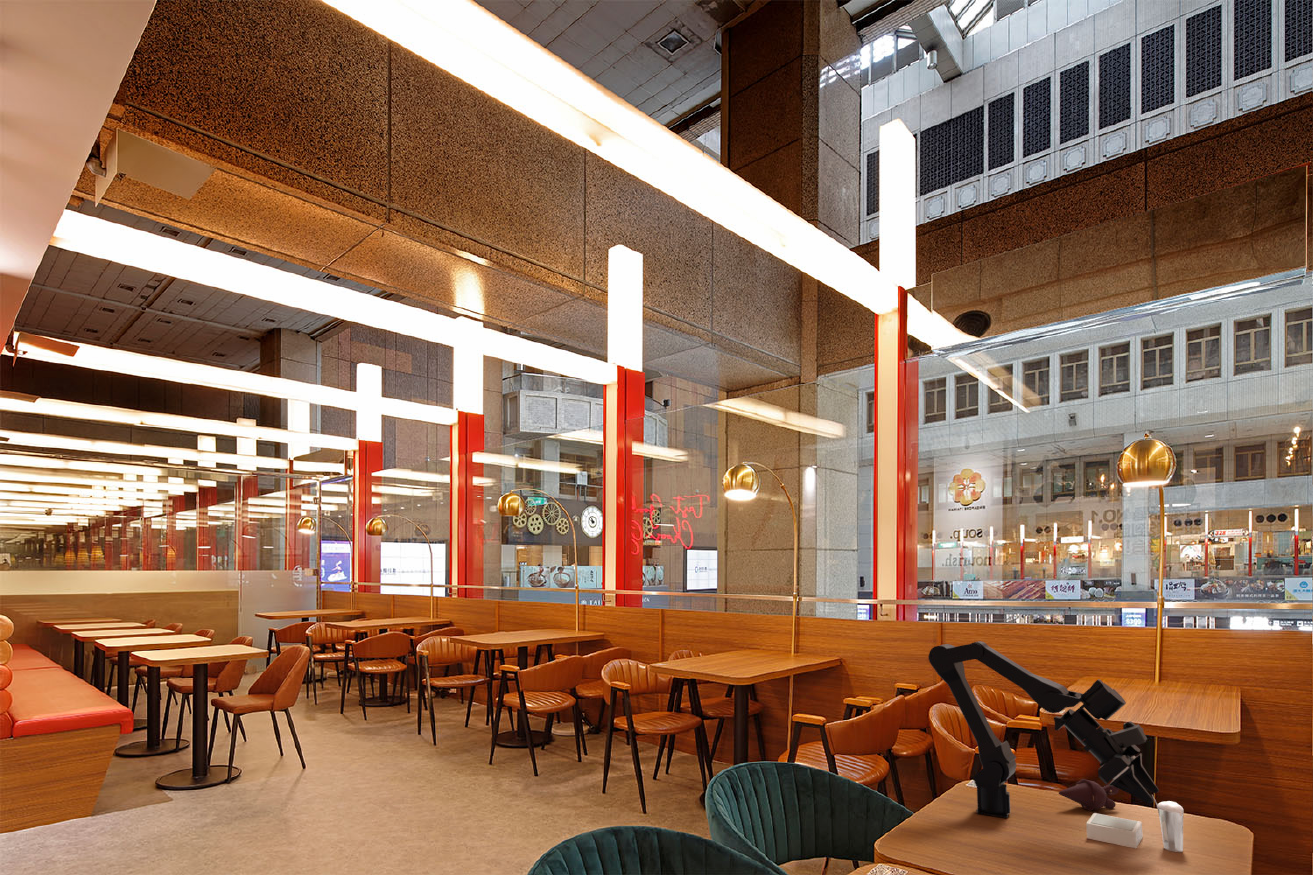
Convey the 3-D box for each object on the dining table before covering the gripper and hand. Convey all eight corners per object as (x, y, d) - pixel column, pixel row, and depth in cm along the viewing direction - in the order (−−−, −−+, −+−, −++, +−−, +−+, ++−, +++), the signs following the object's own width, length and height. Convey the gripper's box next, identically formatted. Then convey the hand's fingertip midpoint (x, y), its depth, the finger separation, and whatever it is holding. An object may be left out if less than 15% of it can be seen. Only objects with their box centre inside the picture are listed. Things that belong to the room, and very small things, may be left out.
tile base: (1087, 838, 166) (1086, 822, 166) (1095, 827, 173) (1094, 812, 173) (1136, 848, 160) (1135, 831, 161) (1142, 836, 167) (1141, 821, 168)
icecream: (1071, 787, 181) (1130, 791, 183) (1052, 770, 189) (1108, 774, 190) (1066, 815, 182) (1124, 819, 184) (1046, 797, 189) (1103, 801, 191)
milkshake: (1157, 842, 164) (1153, 792, 166) (1187, 849, 161) (1184, 797, 162) (1153, 848, 161) (1150, 796, 162) (1185, 855, 157) (1181, 802, 159)
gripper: (1111, 716, 162) (1180, 782, 154) (1125, 704, 177) (1189, 764, 168) (1071, 750, 166) (1137, 816, 157) (1088, 735, 180) (1149, 796, 172)
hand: (1154, 796), depth 163 cm, fingers open, 9 cm apart
